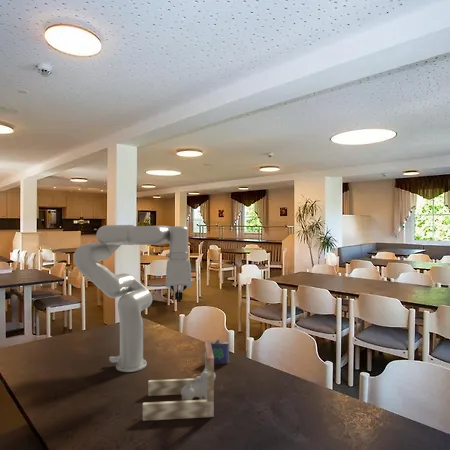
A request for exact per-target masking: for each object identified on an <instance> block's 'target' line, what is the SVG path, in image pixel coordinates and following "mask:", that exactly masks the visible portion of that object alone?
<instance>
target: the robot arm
mask: <svg viewBox="0 0 450 450" xmlns="http://www.w3.org/2000/svg"><path fill="white" fill-rule="evenodd" d="M95 235H96V239H97V241H98V242H89V243H84V244H82V245H80V246H78V247H77V248H76V249H75V251H74V255H73V261H74V264H75V267H76V269H77V270H78V272H80V274H81V275H83V277H85V278H87V279H88V280H89V281H90V283H91V282H92V284H93V285H95V286H96V287H97V288H98V289H99V290H100V291H101V292H103V294H104V295H106V296H107V297H108V298H110V299H116V298H119V299H118V301H117V310H118V317H119V318H118V319H119V355H117V356H109V357H108V358H109V359H108V360H109V362H110V363H111V364H115V369H116V370H117V371H119V372H122V373H123V372H124V373H133V372H139V371H141V370H143V369H145V368H146V366H147V363H148V362H147V360H146V359H144V322H143V318H142V314H141V312H142V311H144V310H146V309H147V308H149V307H150V306H151V305H152V303H153V295H152V292H151V291H150V290H149V289H148V288H147V287H146V286H145V285H143V283H142V282H140V281H139V280H137V279H136V278H135V277H134V276H133V275H131V274H128V273H120V274H116V273H114V272H112V271H111V270H110V269H109V268H108V267H106V266H105V265H103V264H102V263H99V262H103V261H106V260H107V259H109V258H110V257H111V256H112V255H113V254H114V253H115V252H116V251H117V250H118V249H119V248H120V247H121V246H137V245H139V246H146V245H147V246H149V245H150V246H152V245H153V246H155V245H164V244H169V252H168V253H166V254H165V257H166V258H168V259H167V261H166V268H165V288H168V289H171V290H172V291H173V292H174V300H175V301H176V303H181V302H182V301H181V300H183V292H184V291H185V290H186V289H187V288H191V287H192V286H193V284H192V266H191V260H190V259H189V229H188V227H187V226H185V225H184V226H182V225H180V226H179V225H178V226H177V225H176V226H175V225H174V226H171V225H133V224H108V225H103V226H101V227H99V228H98V229H97V231H96V234H95ZM178 286H180V287H179V288H180V289H178Z"/></svg>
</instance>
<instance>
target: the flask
mask: <svg viewBox="0 0 450 450" xmlns="http://www.w3.org/2000/svg"><path fill="white" fill-rule="evenodd" d="M211 346H212V351H213V356H214V365H228V364H229V362H230V360H229V357H230V356H229V355H230V354H229V352H230V351H229V350H230V349H229V348H230V343H229V342H228V341H221V339H220V338H216V340H212V341H211Z"/></svg>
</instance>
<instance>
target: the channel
mask: <svg viewBox="0 0 450 450" xmlns="http://www.w3.org/2000/svg"><path fill="white" fill-rule="evenodd" d="M204 369H207V400H204V399H202V400H199V399H192V400H187V401H182V400H173V401H172V400H171V401H169V400H168V401H167V400H166V401H150V402H143V403H142V421H144V422H145V421H161V420H162V421H163V420H179V419H181V420H182V419H197V418H213V417H215V415H214V412H215V410H214V409H215V408H214V406H215V405H214V404H215V403H214V402H215V401H214V400H215V399H214V398H215V397H214V396H215V395H214V394H215V393H214V392H215V390H214V389H215V388H214V386H215V380H214V373H215V364H214V356H213V351H212V346H211V340H208V339H207V340H204ZM195 378H196V377H195ZM195 378H193V377H192V378H191V377H190V378H172V379H171V378H169V379H149V380H148V383H147V385H148V391H147V392H148V396H149V397H153V396H155V397H156V396H158V397H159V396H171V395H172V396H173V395H175V396H176V395H177V396H178V395H181V390H182V389H183V387H184V386H186V385H188V384H190V385H191V384H193V383H195ZM198 380H199V379H198Z"/></svg>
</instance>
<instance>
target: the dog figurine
mask: <svg viewBox="0 0 450 450" xmlns="http://www.w3.org/2000/svg"><path fill="white" fill-rule="evenodd" d="M216 377H217V375H216V372H214V381H215V380H216ZM198 379H199V380H198ZM180 396H181V401H187V400H194V398H198V400H207V369H205V368H204V369H203V371H202V372H201V373H200V376H199V375H197V376H195V383H193V384H191V385H190V384H188V385H186V386H184V387H183V389H182V390H181V394H180Z"/></svg>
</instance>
